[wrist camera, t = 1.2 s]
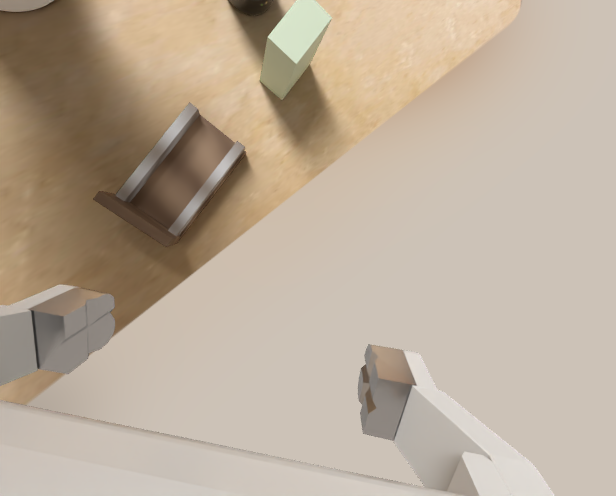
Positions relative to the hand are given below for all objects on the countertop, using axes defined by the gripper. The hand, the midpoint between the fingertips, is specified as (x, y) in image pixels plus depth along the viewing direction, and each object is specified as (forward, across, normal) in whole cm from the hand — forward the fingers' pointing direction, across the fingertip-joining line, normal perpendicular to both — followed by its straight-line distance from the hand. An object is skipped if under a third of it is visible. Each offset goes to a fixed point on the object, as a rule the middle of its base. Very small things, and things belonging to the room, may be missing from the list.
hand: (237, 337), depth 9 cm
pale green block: (+39, +7, -18) cm, 43 cm away
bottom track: (+32, +18, -1) cm, 36 cm away
